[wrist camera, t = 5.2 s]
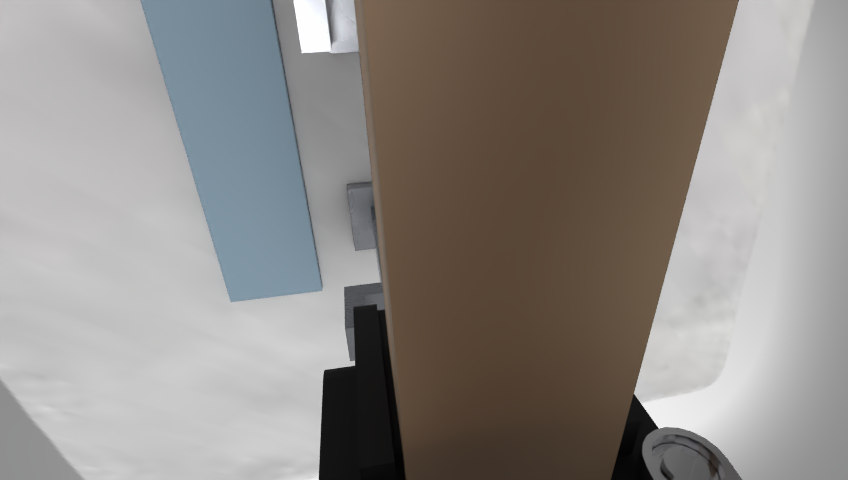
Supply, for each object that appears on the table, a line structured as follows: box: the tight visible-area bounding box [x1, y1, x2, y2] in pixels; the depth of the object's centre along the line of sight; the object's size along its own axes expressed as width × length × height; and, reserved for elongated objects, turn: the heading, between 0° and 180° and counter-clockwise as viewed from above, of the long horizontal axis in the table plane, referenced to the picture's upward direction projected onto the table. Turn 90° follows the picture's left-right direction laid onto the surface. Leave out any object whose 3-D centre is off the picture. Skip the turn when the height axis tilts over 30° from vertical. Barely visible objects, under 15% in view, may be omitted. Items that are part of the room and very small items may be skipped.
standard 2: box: [294, 0, 359, 53], centre depth 22 cm, size 6×5×14 cm
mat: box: [141, 0, 322, 302], centre depth 30 cm, size 7×26×1 cm, turn 3°
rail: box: [354, 0, 739, 480], centre depth 8 cm, size 3×20×3 cm, turn 3°
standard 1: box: [344, 182, 385, 361], centre depth 29 cm, size 6×5×14 cm
